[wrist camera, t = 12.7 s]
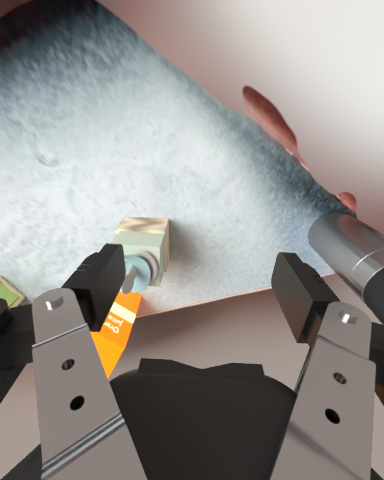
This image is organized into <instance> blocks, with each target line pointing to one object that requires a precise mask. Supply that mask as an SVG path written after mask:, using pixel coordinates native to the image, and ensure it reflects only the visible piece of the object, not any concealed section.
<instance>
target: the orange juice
mask: <svg viewBox="0 0 384 480" xmlns="http://www.w3.org/2000/svg"><path fill="white" fill-rule="evenodd" d="M141 298H142V296H141V295H139V294H137V293H133V292H130V293H129V294H127V295H124V294H122V293H121V292H120V291H119V293H118V295H117V297H116V299H115V301H114V303H113V305H112V308H111V310H110V312H109V314H108V316H107V318H106V320H105V322H104V324H103V326H102V328H101V331H100V332H91V335H92V338H93V340H94V343H95V346H96V348H97V351H98V354H99V356H100V359H101V362H102V364H103V367H104V370H105V372H106V375H107V378H109V376H110V374H111V372H112V370H113V368H114V367H115V365H116V363H117V361H118V359H119V357H120V355H121V353H122V351H123V350H124V349H125V345H126V343H127V340H128V337H129V334H130V331H131V328H132V325H133V322H134V319H135V316H136V313H137V310H138V307H139V304H140V301H141Z"/></svg>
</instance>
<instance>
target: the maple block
mask: <svg viewBox="0 0 384 480" xmlns="http://www.w3.org/2000/svg"><path fill="white" fill-rule="evenodd" d="M119 231H133V232H146V233H159V234H164V271H163V272H166V270H167V266H168V261H169V257H170V254H169V219H167V218H138V217H124V219H123V220H122V221H121V222H120V223H119V225H118V226H117V227H116V228H115V232H116V235H117V234H118V233H119Z"/></svg>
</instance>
